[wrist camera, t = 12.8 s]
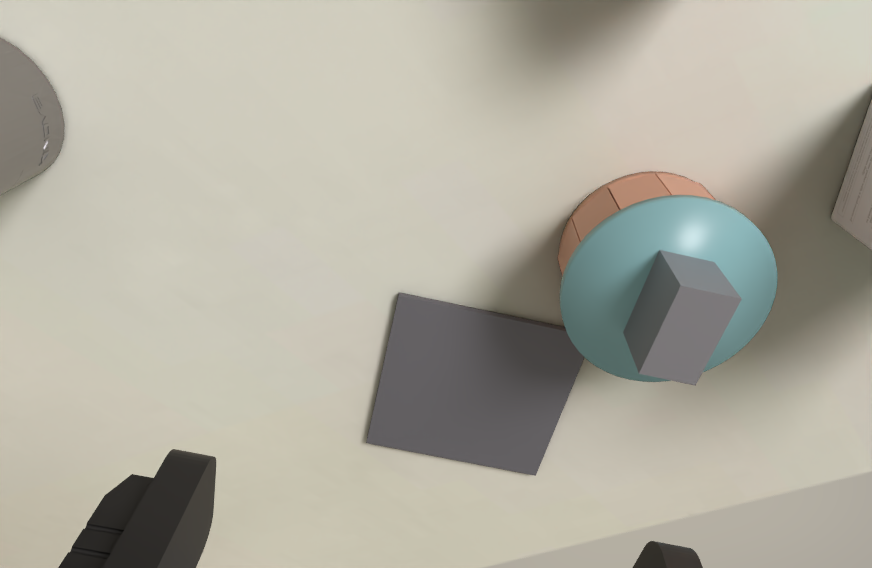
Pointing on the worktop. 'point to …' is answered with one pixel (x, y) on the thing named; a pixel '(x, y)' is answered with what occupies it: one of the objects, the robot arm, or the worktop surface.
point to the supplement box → (858, 189)
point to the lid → (668, 288)
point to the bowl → (621, 203)
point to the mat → (472, 384)
